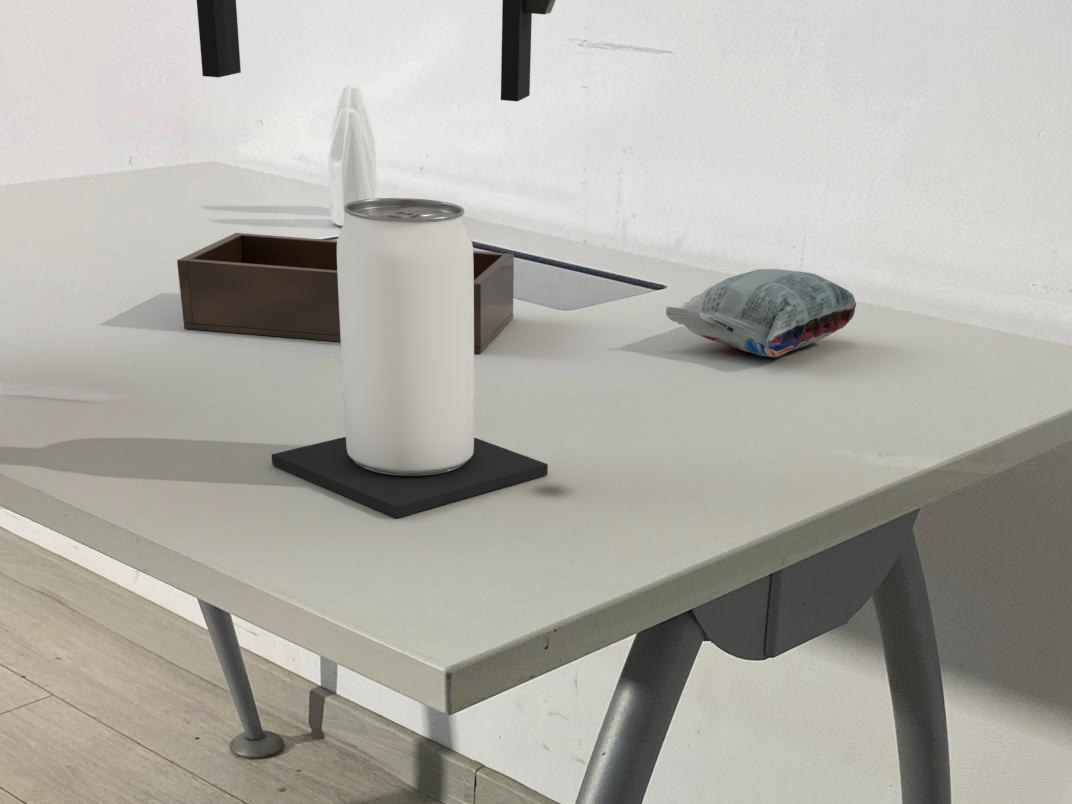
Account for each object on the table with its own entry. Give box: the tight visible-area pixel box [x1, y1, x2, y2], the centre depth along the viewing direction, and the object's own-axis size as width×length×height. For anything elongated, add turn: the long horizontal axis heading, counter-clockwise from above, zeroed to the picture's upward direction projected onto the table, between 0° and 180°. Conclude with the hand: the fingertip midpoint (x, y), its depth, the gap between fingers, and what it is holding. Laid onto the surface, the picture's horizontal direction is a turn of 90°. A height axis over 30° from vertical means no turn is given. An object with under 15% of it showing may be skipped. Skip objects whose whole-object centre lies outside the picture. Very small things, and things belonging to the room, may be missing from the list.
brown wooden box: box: [176, 232, 515, 354], centre depth 98 cm, size 20×10×4 cm, turn 81°
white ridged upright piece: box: [327, 84, 379, 227], centre depth 131 cm, size 12×4×11 cm, turn 6°
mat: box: [271, 436, 549, 519], centre depth 73 cm, size 10×10×1 cm
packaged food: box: [665, 268, 857, 358], centre depth 97 cm, size 9×12×5 cm
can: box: [337, 197, 475, 477], centre depth 70 cm, size 6×6×12 cm
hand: (367, 87), depth 64 cm, fingers open, 13 cm apart
